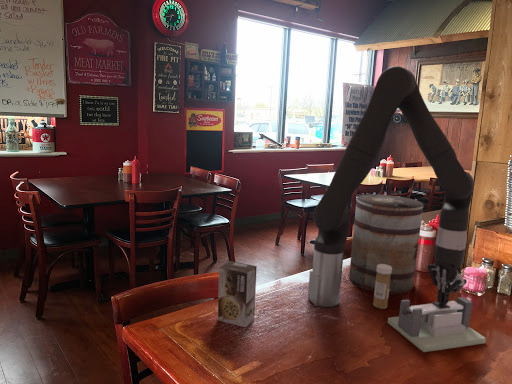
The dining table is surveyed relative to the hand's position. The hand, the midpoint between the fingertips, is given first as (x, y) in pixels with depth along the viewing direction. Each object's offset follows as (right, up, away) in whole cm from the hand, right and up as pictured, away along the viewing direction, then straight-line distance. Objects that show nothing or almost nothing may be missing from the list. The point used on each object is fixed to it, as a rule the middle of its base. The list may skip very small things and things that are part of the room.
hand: (442, 303), depth 120 cm
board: (-2, -9, +1) cm, 9 cm away
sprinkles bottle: (-13, -5, +16) cm, 21 cm away
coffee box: (-58, -6, +3) cm, 58 cm away
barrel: (-7, -2, +37) cm, 37 cm away
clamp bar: (-2, -1, 0) cm, 3 cm away
